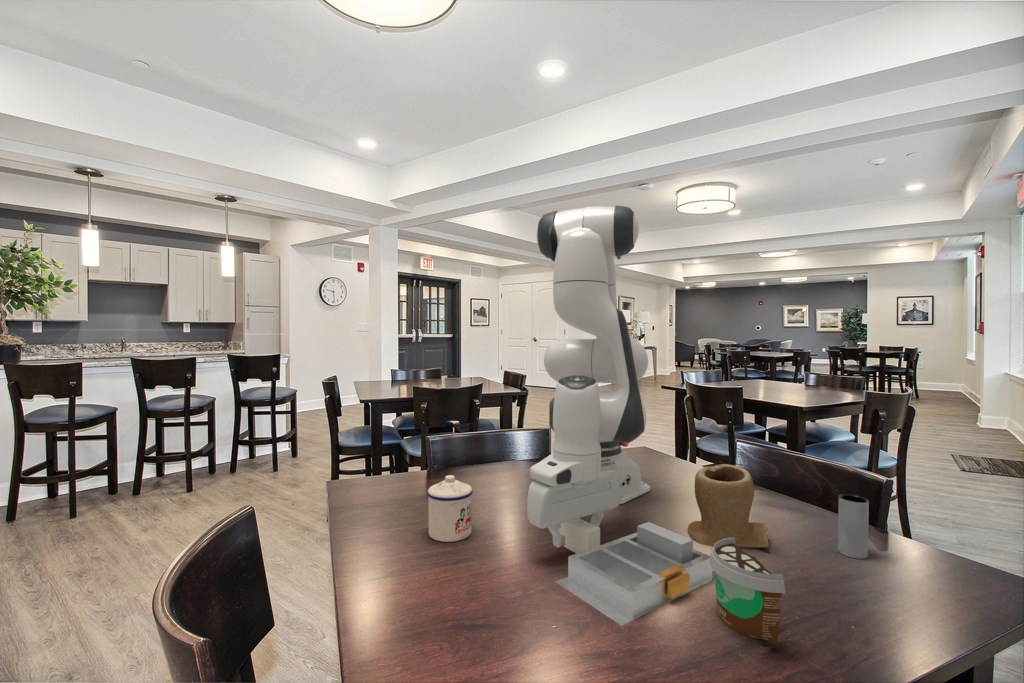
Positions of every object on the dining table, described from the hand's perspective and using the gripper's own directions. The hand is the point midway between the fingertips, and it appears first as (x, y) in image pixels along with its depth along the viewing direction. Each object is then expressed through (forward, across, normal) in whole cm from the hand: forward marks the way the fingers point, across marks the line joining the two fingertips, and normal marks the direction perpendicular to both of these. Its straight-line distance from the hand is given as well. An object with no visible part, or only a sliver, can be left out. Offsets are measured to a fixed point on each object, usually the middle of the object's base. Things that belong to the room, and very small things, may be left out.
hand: (576, 540), depth 89 cm
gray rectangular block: (+2, -7, +14) cm, 16 cm away
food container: (+3, -3, +29) cm, 29 cm away
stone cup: (+3, -27, +14) cm, 31 cm away
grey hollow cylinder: (+3, -42, +29) cm, 51 cm away
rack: (+2, -1, +14) cm, 14 cm away
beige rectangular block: (+3, 0, 0) cm, 3 cm away
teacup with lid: (+3, +14, -22) cm, 26 cm away
